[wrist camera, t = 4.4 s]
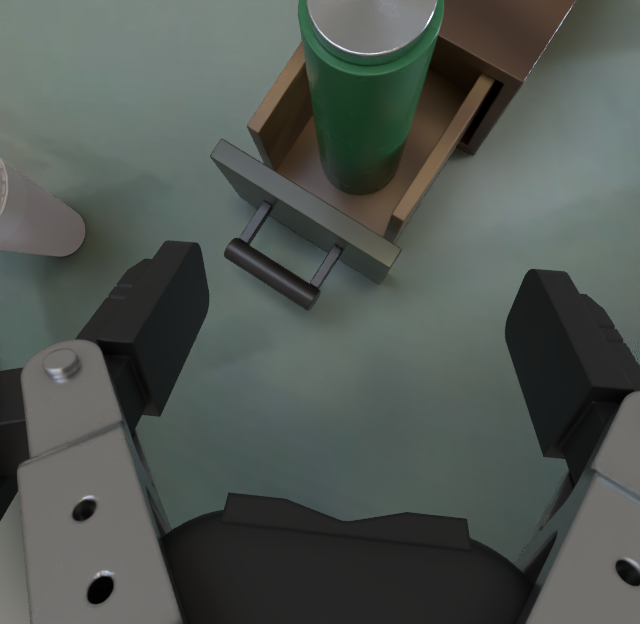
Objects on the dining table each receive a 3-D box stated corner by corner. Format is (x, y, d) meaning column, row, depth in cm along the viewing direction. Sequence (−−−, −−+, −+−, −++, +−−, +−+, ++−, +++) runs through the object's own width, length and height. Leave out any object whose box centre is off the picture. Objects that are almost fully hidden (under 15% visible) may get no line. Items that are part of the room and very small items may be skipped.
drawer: (346, 336, 29) (346, 335, 22) (208, 247, 30) (167, 220, 23) (495, 105, 29) (540, 34, 22) (353, 25, 30) (354, -67, 23)
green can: (416, 142, 28) (478, -36, 15) (372, 210, 28) (395, 92, 15) (347, 102, 29) (348, -105, 15) (304, 168, 28) (267, 18, 15)
